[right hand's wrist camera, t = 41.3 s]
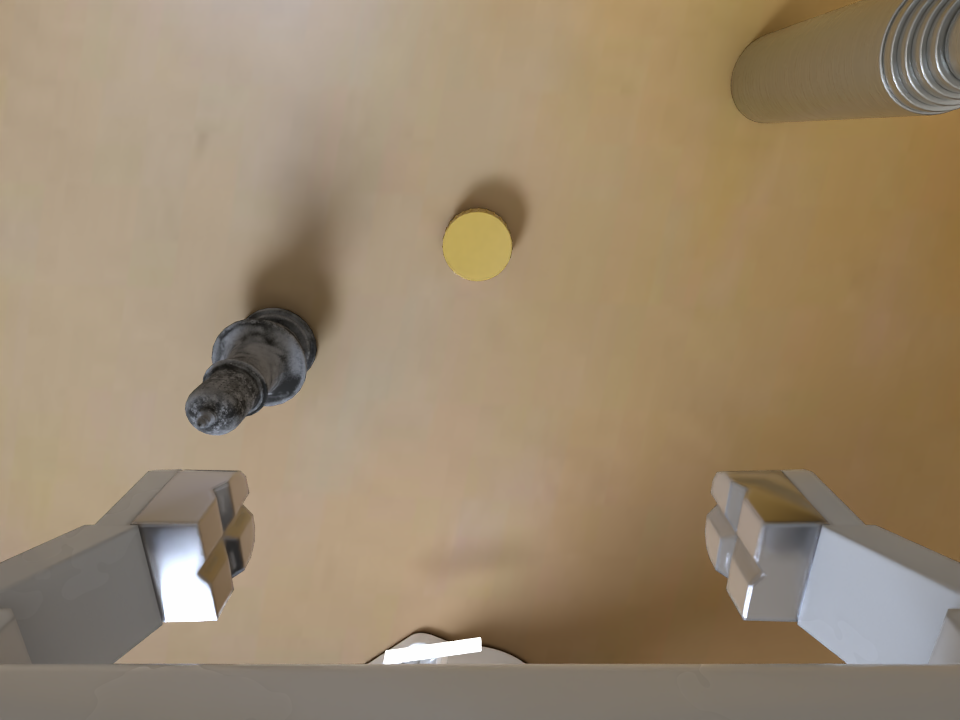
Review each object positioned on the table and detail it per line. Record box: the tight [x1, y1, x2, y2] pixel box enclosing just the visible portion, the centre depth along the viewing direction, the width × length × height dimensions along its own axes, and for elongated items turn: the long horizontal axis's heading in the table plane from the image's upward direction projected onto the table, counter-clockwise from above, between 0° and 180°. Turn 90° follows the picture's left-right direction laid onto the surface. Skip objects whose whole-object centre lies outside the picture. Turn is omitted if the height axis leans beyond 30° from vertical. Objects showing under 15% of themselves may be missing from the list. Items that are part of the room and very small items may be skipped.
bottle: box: [731, 0, 960, 123], centre depth 26 cm, size 5×5×18 cm
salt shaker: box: [185, 308, 317, 435], centre depth 34 cm, size 6×6×12 cm
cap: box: [442, 207, 512, 281], centre depth 37 cm, size 4×4×2 cm
